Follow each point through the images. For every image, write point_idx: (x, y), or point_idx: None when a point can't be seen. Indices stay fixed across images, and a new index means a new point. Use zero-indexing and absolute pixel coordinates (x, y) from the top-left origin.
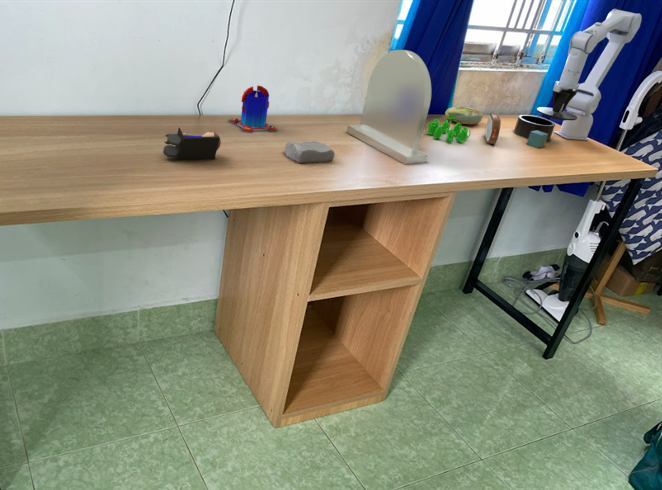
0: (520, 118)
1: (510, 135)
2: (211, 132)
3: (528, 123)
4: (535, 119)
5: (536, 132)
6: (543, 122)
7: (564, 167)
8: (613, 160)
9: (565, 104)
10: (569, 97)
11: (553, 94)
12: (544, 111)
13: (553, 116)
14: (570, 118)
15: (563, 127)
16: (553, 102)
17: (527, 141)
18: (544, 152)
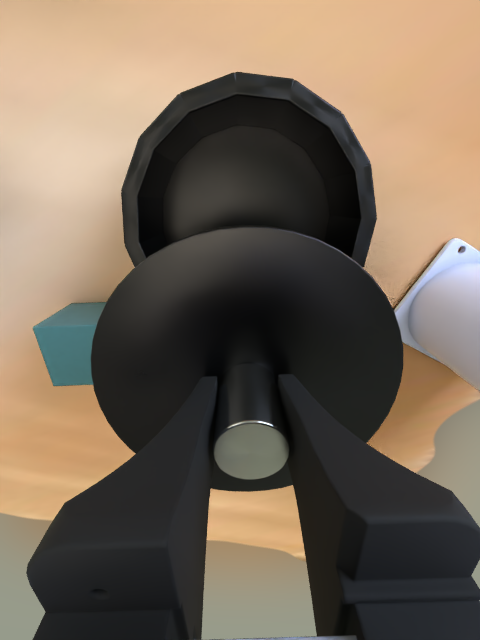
0: (136, 148)
1: (92, 179)
2: None
3: (127, 241)
4: (344, 167)
5: (57, 348)
6: (348, 229)
7: (21, 482)
8: (290, 501)
9: (289, 469)
10: (308, 559)
11: (101, 485)
12: (151, 334)
13: (111, 426)
14: (213, 482)
15: (442, 301)
16: (172, 418)
17: (64, 308)
18: (72, 389)
